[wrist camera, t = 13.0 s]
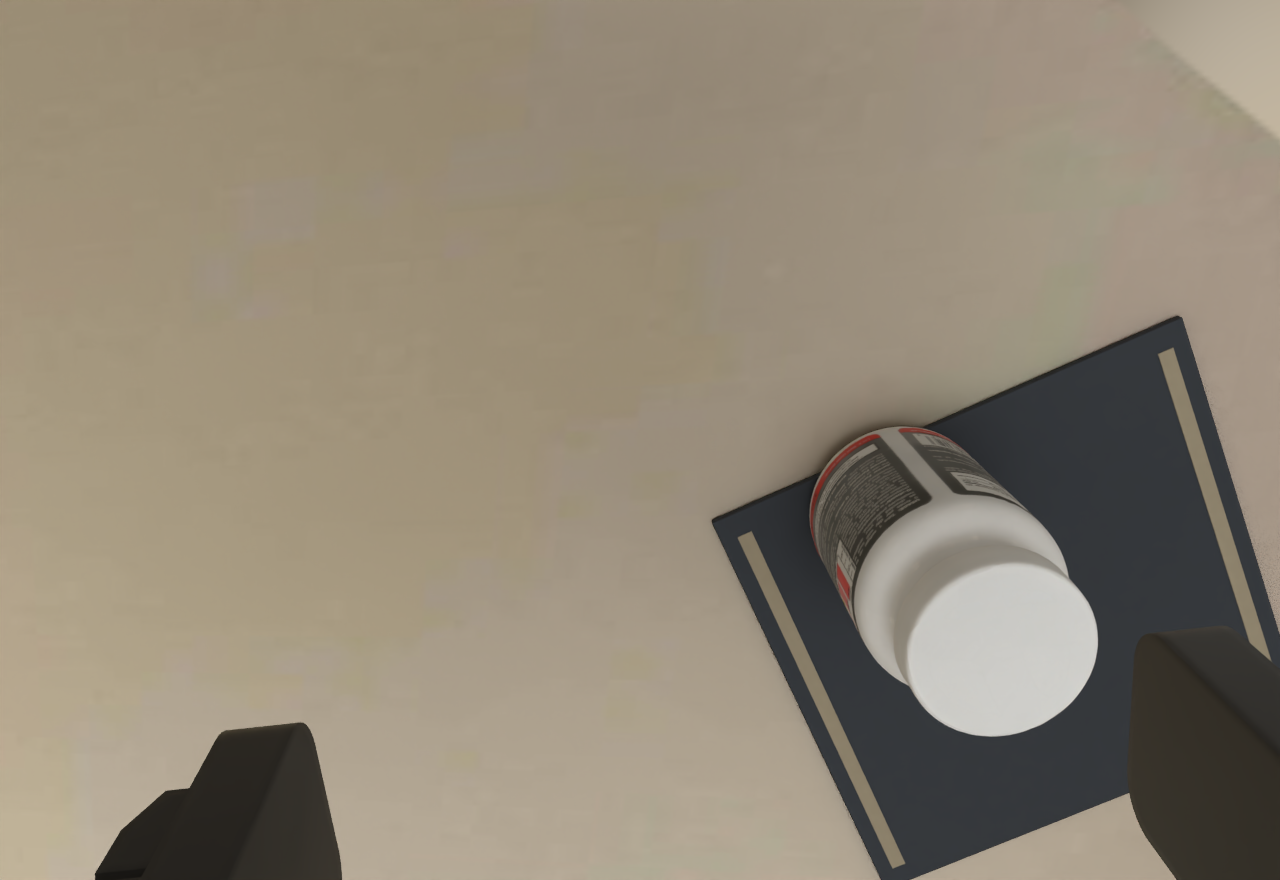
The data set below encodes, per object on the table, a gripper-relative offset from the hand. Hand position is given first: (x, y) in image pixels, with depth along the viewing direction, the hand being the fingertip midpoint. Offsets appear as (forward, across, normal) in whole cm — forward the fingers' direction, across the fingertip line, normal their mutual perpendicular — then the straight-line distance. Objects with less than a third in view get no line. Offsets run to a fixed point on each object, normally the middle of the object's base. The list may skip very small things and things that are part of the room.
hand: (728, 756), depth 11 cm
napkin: (+24, -12, +13) cm, 30 cm away
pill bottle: (+24, -8, +8) cm, 26 cm away
